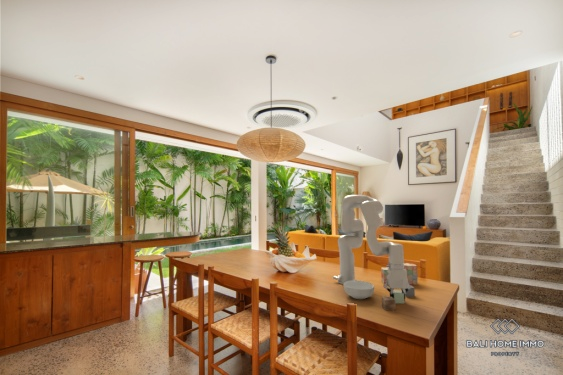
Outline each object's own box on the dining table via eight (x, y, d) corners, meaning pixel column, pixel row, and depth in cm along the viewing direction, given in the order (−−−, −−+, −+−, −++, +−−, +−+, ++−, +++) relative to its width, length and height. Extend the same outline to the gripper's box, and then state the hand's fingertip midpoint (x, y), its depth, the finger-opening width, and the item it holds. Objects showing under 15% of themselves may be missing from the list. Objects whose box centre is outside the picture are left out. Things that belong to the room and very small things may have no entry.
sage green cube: (394, 303, 142) (394, 293, 142) (391, 299, 147) (390, 290, 147) (404, 303, 141) (403, 293, 142) (400, 299, 146) (400, 290, 147)
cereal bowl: (370, 304, 140) (369, 291, 141) (339, 298, 149) (339, 286, 149) (377, 294, 155) (377, 282, 155) (349, 290, 164) (349, 278, 164)
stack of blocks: (383, 284, 175) (383, 265, 176) (381, 281, 181) (380, 262, 182) (417, 284, 173) (417, 265, 174) (414, 281, 179) (413, 263, 180)
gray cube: (405, 296, 151) (405, 287, 152) (402, 293, 156) (401, 285, 157) (414, 296, 151) (414, 287, 151) (410, 293, 156) (410, 285, 156)
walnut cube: (385, 310, 133) (384, 300, 133) (382, 306, 138) (381, 296, 138) (395, 310, 133) (395, 300, 133) (391, 306, 138) (391, 296, 138)
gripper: (382, 268, 142) (384, 303, 141) (415, 268, 141) (416, 303, 140) (378, 264, 149) (379, 298, 148) (409, 264, 148) (410, 298, 147)
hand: (397, 300), depth 144 cm, fingers closed on sage green cube, 5 cm apart
